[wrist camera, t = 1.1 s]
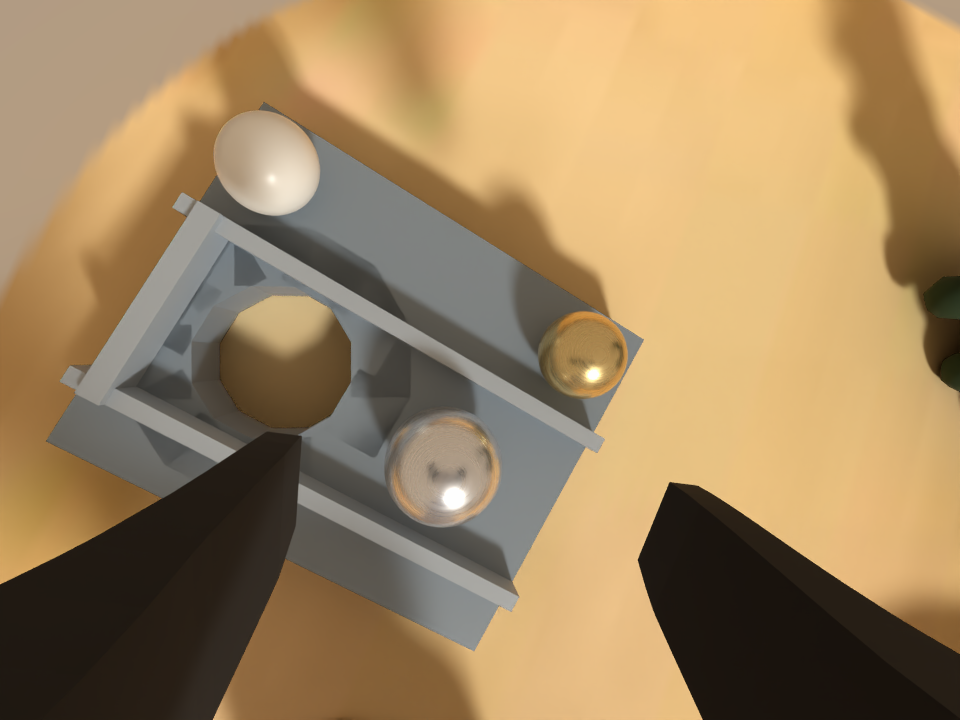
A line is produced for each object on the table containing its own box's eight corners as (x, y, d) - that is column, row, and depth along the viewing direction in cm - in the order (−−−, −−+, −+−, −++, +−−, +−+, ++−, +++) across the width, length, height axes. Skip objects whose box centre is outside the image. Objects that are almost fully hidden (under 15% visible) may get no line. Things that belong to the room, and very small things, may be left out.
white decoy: (343, 170, 17) (329, 128, 14) (299, 243, 17) (274, 217, 14) (265, 121, 17) (232, 67, 14) (217, 196, 17) (173, 157, 14)
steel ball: (509, 432, 18) (537, 453, 14) (458, 524, 18) (472, 570, 14) (420, 382, 18) (423, 389, 14) (366, 475, 17) (354, 508, 14)
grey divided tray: (617, 341, 22) (663, 338, 18) (466, 616, 21) (480, 677, 17) (282, 134, 19) (249, 77, 15) (94, 430, 18) (8, 449, 14)
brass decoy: (619, 341, 19) (661, 337, 16) (581, 410, 19) (616, 420, 16) (553, 300, 19) (582, 288, 15) (513, 370, 18) (535, 372, 15)
